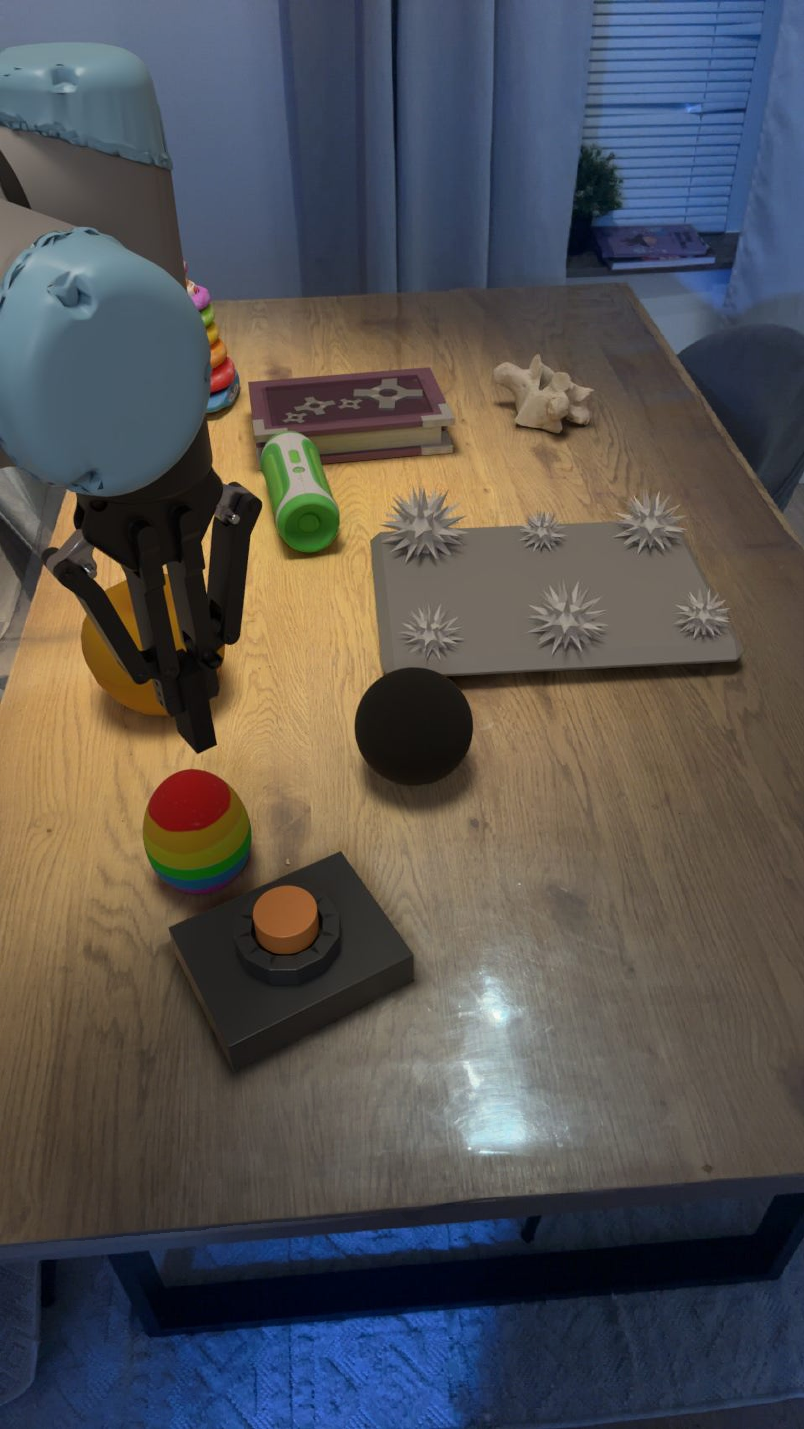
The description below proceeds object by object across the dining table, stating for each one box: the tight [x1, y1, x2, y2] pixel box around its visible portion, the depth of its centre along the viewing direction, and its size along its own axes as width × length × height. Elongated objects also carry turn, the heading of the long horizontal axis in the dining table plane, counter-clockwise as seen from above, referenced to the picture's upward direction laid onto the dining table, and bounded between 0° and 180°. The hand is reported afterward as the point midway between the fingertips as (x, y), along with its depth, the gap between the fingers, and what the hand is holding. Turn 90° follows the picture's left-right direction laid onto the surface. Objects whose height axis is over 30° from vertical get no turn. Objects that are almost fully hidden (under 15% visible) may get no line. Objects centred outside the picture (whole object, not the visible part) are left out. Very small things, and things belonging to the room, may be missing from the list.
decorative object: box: [491, 353, 595, 434], centre depth 136 cm, size 9×14×8 cm, turn 47°
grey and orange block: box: [167, 850, 415, 1073], centre depth 72 cm, size 14×11×5 cm
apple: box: [80, 573, 226, 717], centre depth 93 cm, size 13×13×11 cm
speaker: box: [260, 431, 341, 553], centre depth 118 cm, size 18×7×8 cm, turn 13°
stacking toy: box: [183, 257, 241, 414], centre depth 137 cm, size 14×13×23 cm
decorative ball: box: [354, 667, 474, 787], centre depth 85 cm, size 10×10×10 cm
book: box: [247, 366, 456, 471], centre depth 134 cm, size 25×16×5 cm, turn 100°
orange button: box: [253, 886, 319, 955], centre depth 70 cm, size 4×4×2 cm
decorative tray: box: [369, 482, 745, 678], centre depth 103 cm, size 35×26×10 cm
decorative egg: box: [142, 768, 253, 895], centre depth 77 cm, size 8×8×10 cm
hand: (197, 738), depth 68 cm, fingers closed
